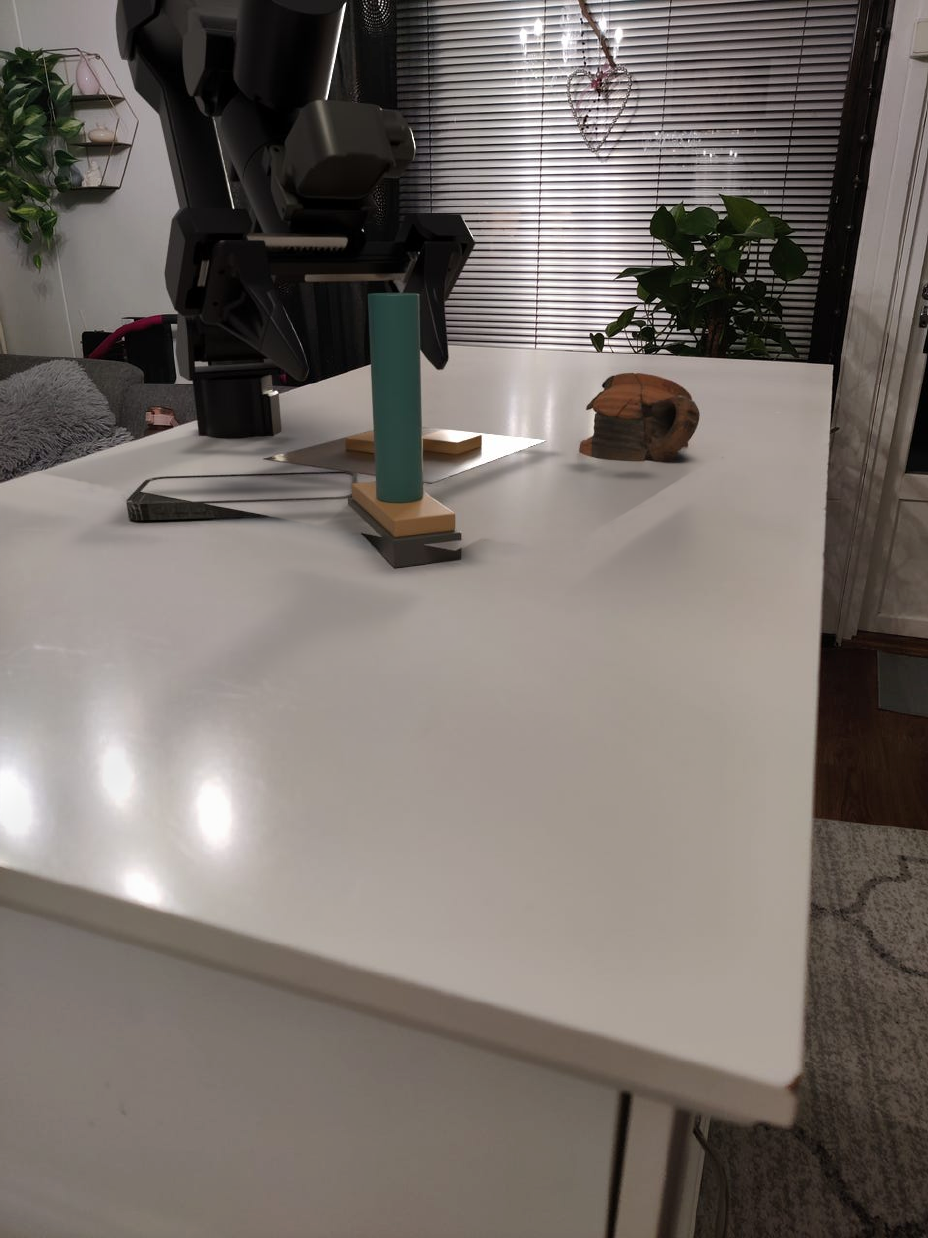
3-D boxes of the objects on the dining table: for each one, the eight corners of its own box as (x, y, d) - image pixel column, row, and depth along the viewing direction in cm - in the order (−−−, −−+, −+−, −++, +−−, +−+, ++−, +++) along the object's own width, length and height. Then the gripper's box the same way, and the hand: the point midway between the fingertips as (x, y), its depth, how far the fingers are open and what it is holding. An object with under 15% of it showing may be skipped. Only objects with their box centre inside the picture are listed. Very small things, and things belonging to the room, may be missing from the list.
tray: (264, 473, 70) (262, 458, 69) (396, 436, 84) (395, 424, 83) (431, 499, 62) (431, 483, 61) (546, 454, 76) (546, 440, 76)
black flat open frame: (148, 476, 63) (356, 470, 65) (150, 492, 64) (357, 485, 65) (121, 505, 56) (357, 496, 58) (124, 521, 56) (358, 513, 58)
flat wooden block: (345, 449, 72) (344, 437, 72) (374, 441, 75) (374, 430, 75) (384, 454, 70) (384, 442, 70) (412, 446, 73) (412, 434, 73)
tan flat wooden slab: (415, 449, 72) (415, 437, 72) (442, 441, 75) (442, 429, 75) (457, 454, 70) (456, 442, 70) (482, 446, 73) (482, 434, 73)
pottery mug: (547, 467, 73) (573, 374, 74) (629, 505, 78) (653, 417, 78) (643, 455, 63) (672, 347, 63) (732, 499, 68) (758, 399, 68)
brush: (348, 521, 57) (335, 291, 51) (407, 515, 58) (400, 290, 53) (394, 568, 48) (384, 297, 43) (461, 559, 50) (460, 296, 44)
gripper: (149, 31, 44) (249, 266, 40) (458, 70, 54) (566, 263, 49) (132, 211, 53) (212, 418, 49) (399, 217, 63) (486, 391, 58)
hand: (377, 370), depth 51 cm, fingers open, 9 cm apart
